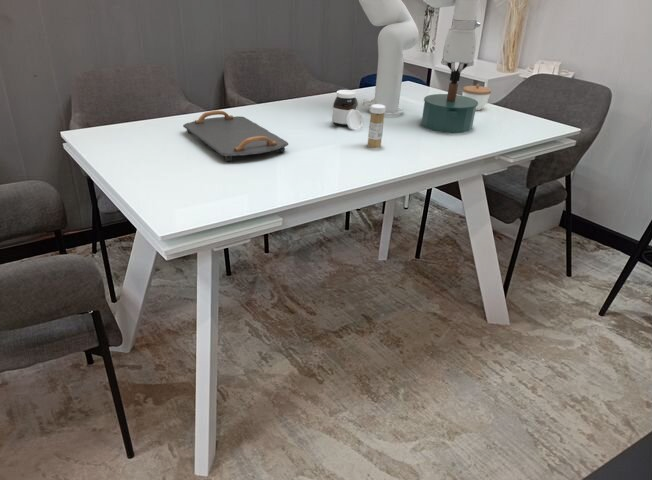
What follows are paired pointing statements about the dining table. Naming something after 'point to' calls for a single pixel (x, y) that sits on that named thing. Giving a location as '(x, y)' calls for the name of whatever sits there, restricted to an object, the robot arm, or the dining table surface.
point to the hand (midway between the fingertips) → (454, 82)
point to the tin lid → (451, 99)
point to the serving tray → (234, 135)
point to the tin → (447, 119)
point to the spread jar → (346, 110)
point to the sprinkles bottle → (376, 125)
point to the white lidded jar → (477, 94)
